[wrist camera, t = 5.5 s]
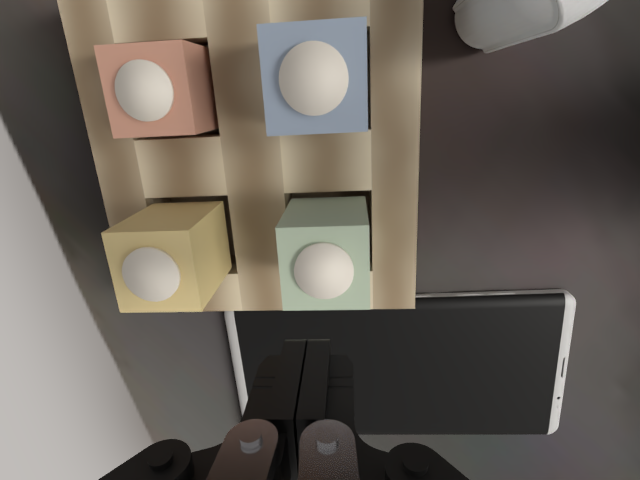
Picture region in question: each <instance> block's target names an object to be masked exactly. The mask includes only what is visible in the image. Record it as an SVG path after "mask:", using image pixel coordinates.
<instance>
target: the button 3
mask: <svg viewBox="0 0 640 480" xmlns="http://www.w3.org/2000/svg"><path fill="white" fill-rule="evenodd" d="M256 25H257V35H258V46H259V57H260V68H261V79H262V90H263V101H264V111H265V122H266V133H267V136H285V135H306V134H328V133H349V132H368V85H367V16H365V17H350V18H336V19H322V20H307V21H293V22H279V23H264V24H256Z"/></svg>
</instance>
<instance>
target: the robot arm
mask: <svg viewBox="0 0 640 480" xmlns="http://www.w3.org/2000/svg"><path fill="white" fill-rule="evenodd" d="M99 480H469V479H468V478H467V477H465V476H464V475H463V474H462V473H461V472H459V471H458V470H457V469H456V468H455V467H453V466H452V465H451V464H450V463H449V462H447V461H446V460H445V459H444V458H442V457H441V456H440V455H439V454H438V453H436V452H435V451H434V450H432V449H431V448H429V447H427V446H425V445H422V444H418V443H404V444H400V445H397V446H396V447H394V448H393V449H391V450H390V452H389V453H388V452H385V451H381V450H378V449H375V448H373V447H371V446H369V445H367V444H366V443H365V442H364V441H362V440H361V438H360V437H359V436H358V434H357V432H356V429H355V416H354V375H353V364H352V362H351V361H350V359H349V358H348V356H347V355H331V340H330V339H309V340H308V341H307V339H306V340H285V341H284V344H283V348H282V352H281V355H268V356H267V357H266V358H265V359H264V361H263V362H262V363H261V364H260V365H259V367H258V370H257V373H256V376H255V379H254V382H253V385H252V389H251V392H250V395H249V398H248V401H247V404H246V407H245V410H244V413H243V416H242V420H241V422H240V423H239V424H237V425H235V426H234V427H233V428H232V429H230V430H229V432H228V433H227V434H226V436H225V438H224V441H223V443H221V444H219V445H217V446H214V447H211V448H207V449H203V450H200V451H196V452H192V453H191V450H190V448H189V446H188V445H187V444H186V443H185V442H183V441H181V440H177V439H167V440H162V441H159V442H156V443H154V444H152V445H150V446H149V447H147V448H146V449H144V450H143V451H141V452H140V453H138V454H137V455H135V456H134V457H132V458H130V459H129V460H127V461H126V462H124V463H123V464H121V465H120V466H118V467H117V468H115V469H114V470H112V471H111V472H110V473H108V474H106V475H105V476H103V477H102V478H100V479H99Z"/></svg>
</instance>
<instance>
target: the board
mask: <svg viewBox="0 0 640 480" xmlns="http://www.w3.org/2000/svg"><path fill="white" fill-rule="evenodd" d="M57 3H58V7H59V11H60V16H61V20H62V24H63V29H64V33H65V37H66V42H67V46H68V50H69V54H70V59H71V63H72V67H73V72H74V76H75V80H76V85H77V89H78V93H79V98H80V102H81V106H82V111H83V115H84V119H85V123H86V128H87V132H88V136H89V141H90V145H91V149H92V154H93V158H94V162H95V167H96V171H97V175H98V180H99V184H100V188H101V192H102V197H103V201H104V205H105V210H106V214H107V218H108V223H109V227H110V228H111V227H112V226H114V225H116V224H118V223H120V222H121V221H123V220H125V219H127V218H128V217H130V216H132V215H134V214H135V213H137V212H139V211H141V210H143V209H144V208H146V207H148V206H150V205H151V204H153V203H177V202H207V201H223V204H224V212H225V219H226V227H227V234H228V242H229V249H230V257H231V264H232V268H231V269H230V271H229V272H228V274H227V275H226V277H225V278H224V280H223V281H222V283H221V284H220V286H219V287H218V289H217V290H216V292H215V293H214V295H213V296H212V298H211V299H210V301H209V302H208V303H207V305H206V306H205V308H204V309H203V311H265V310H283V307H282V296H281V285H280V274H279V263H278V253H277V242H276V231H275V228H276V226H277V224H278V222H279V220H280V218H281V217H282V215H283V213H284V211H285V209H286V208H287V206H288V204H289V202H290V200H291V199H294V198H323V197H352V196H365V199H366V206H367V213H368V220H369V242H370V309H415V289H416V252H417V216H418V180H419V144H420V108H421V72H422V35H423V0H57ZM365 16H367V85H368V132H349V133H328V134H306V135H285V136H267V133H266V122H265V111H264V101H263V90H262V79H261V68H260V57H259V46H258V35H257V25H256V24H264V23H279V22H293V21H307V20H322V19H336V18H350V17H365ZM179 39H182V40H185V41H189V42H192V43H195V44H198V45H201V46H204V47H208V48H209V55H210V63H211V71H212V78H213V86H214V94H215V102H216V109H217V117H218V125H219V128H218V129H215V130H211V131H207V132H204V133H200V134H196V135H178V136H158V137H137V138H116V139H113V135H112V131H111V126H110V121H109V117H108V112H107V107H106V102H105V98H104V93H103V88H102V84H101V79H100V74H99V70H98V65H97V60H96V55H95V51H94V46H93V45H106V44H120V43H135V42H150V41H165V40H179Z"/></svg>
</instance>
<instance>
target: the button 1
mask: <svg viewBox="0 0 640 480" xmlns="http://www.w3.org/2000/svg"><path fill="white" fill-rule="evenodd" d="M93 46H94V51H95V55H96V60H97V65H98V70H99V74H100V79H101V84H102V88H103V93H104V98H105V102H106V107H107V112H108V117H109V121H110V126H111V131H112V135H113V139H116V138H137V137H158V136H178V135H196V134H200V133H204V132H207V131H211V130H215V129H218V128H219V125H218V117H217V109H216V102H215V94H214V86H213V78H212V71H211V63H210V55H209V48H208V47H204V46H201V45H198V44H195V43H192V42H189V41H185V40H182V39H179V40H165V41H150V42H135V43H120V44H106V45H93Z"/></svg>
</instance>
